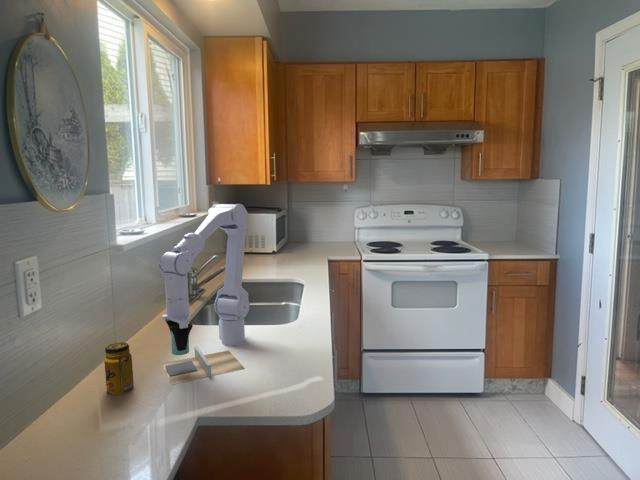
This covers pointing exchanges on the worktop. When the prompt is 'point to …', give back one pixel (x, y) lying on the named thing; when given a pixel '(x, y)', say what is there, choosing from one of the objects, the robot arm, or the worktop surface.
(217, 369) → the board
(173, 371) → the pad
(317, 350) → the worktop surface
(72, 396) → the worktop surface
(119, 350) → the condiment
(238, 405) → the worktop surface
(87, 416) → the worktop surface
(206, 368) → the fence
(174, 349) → the peg
